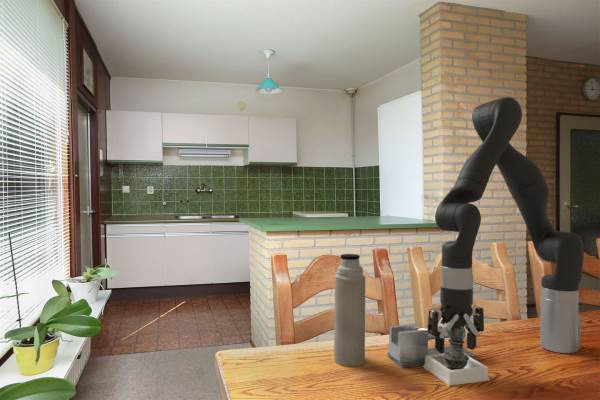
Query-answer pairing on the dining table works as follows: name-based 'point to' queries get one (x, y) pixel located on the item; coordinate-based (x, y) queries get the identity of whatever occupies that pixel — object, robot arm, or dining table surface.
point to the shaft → (447, 335)
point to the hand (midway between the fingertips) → (455, 350)
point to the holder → (459, 376)
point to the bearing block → (412, 346)
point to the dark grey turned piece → (456, 350)
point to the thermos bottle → (349, 312)
